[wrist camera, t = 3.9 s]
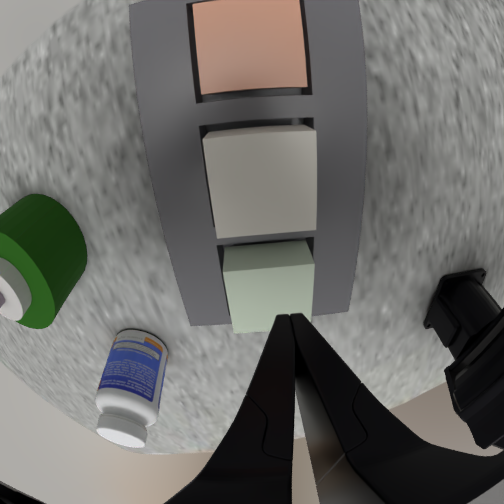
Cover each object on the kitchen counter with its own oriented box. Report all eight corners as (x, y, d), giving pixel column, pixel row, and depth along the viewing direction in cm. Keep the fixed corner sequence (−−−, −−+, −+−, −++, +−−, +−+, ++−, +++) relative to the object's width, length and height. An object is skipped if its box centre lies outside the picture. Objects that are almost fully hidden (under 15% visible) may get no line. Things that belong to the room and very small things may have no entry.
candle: (22, 174, 15) (-72, 243, 6) (101, 233, 18) (29, 339, 9) (7, 249, 18) (-55, 323, 9) (72, 299, 21) (25, 390, 12)
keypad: (340, 2, 10) (356, -11, 8) (338, 288, 21) (348, 311, 19) (145, 16, 10) (128, 5, 8) (194, 301, 21) (190, 326, 19)
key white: (303, 124, 12) (316, 130, 10) (305, 209, 15) (316, 230, 13) (208, 131, 13) (202, 139, 11) (220, 216, 15) (216, 238, 13)
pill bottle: (105, 329, 23) (72, 419, 15) (155, 325, 22) (129, 428, 14) (131, 364, 26) (111, 446, 17) (178, 362, 25) (165, 453, 17)
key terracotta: (290, 10, 10) (298, -3, 8) (297, 87, 13) (307, 86, 11) (199, 17, 10) (192, 4, 8) (207, 94, 13) (201, 94, 11)
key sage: (305, 239, 16) (314, 263, 14) (303, 300, 18) (310, 326, 16) (224, 247, 16) (222, 272, 14) (234, 306, 18) (234, 333, 16)
